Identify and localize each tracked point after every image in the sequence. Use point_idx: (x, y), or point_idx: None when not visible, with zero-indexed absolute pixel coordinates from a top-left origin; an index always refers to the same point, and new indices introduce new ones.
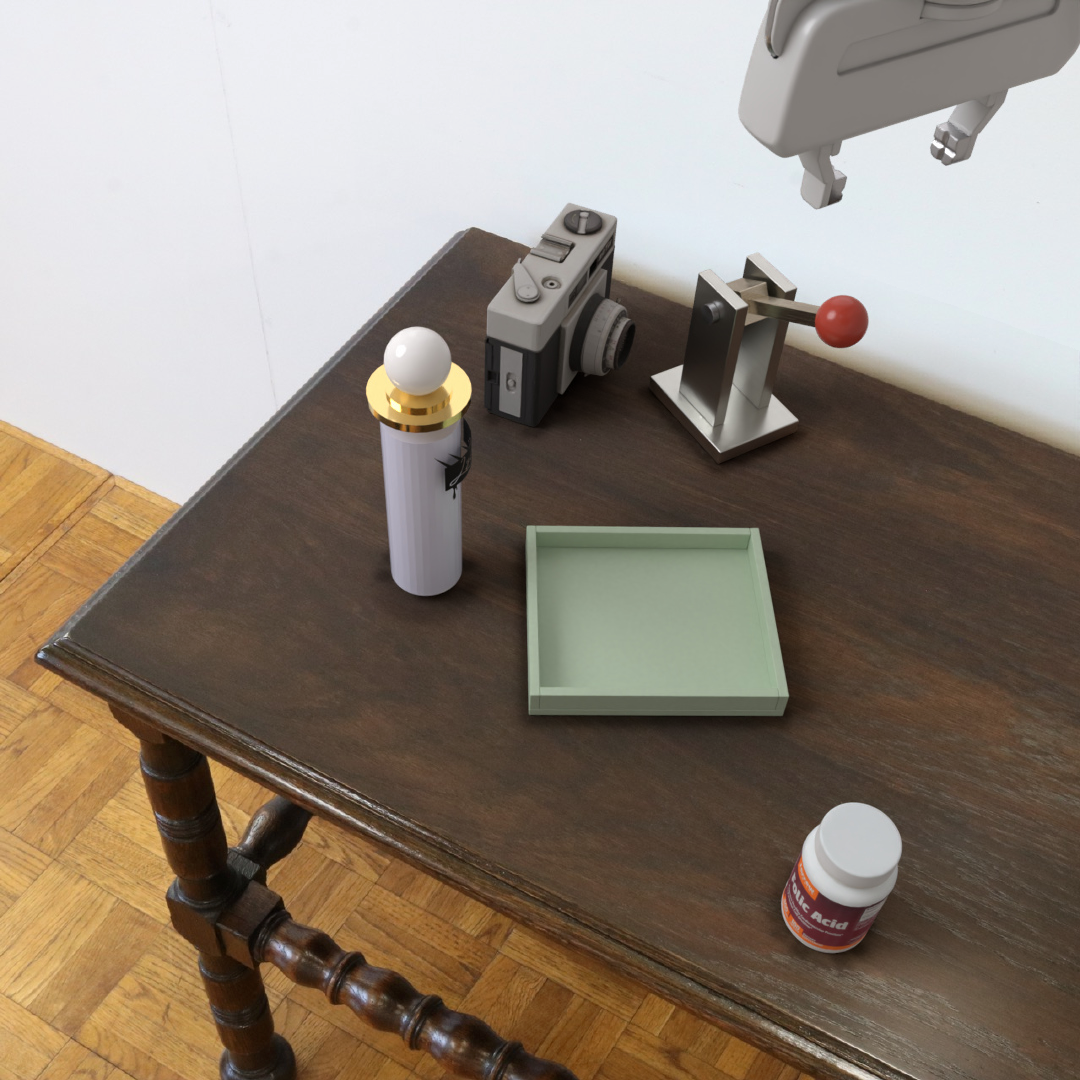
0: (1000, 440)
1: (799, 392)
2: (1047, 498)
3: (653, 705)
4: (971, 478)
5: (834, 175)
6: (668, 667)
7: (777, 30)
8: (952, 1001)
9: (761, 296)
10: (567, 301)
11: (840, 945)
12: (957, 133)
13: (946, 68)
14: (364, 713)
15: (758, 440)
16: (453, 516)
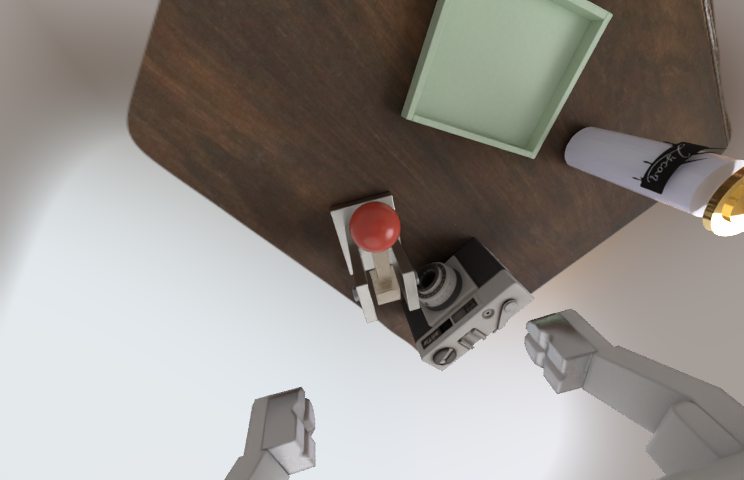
0: (178, 171)
1: (313, 238)
2: (154, 103)
3: None
4: (215, 139)
5: (611, 361)
6: (508, 20)
7: None
8: None
9: (382, 283)
10: (478, 301)
11: None
12: (287, 453)
13: None
14: (661, 54)
15: (361, 201)
16: (632, 144)
